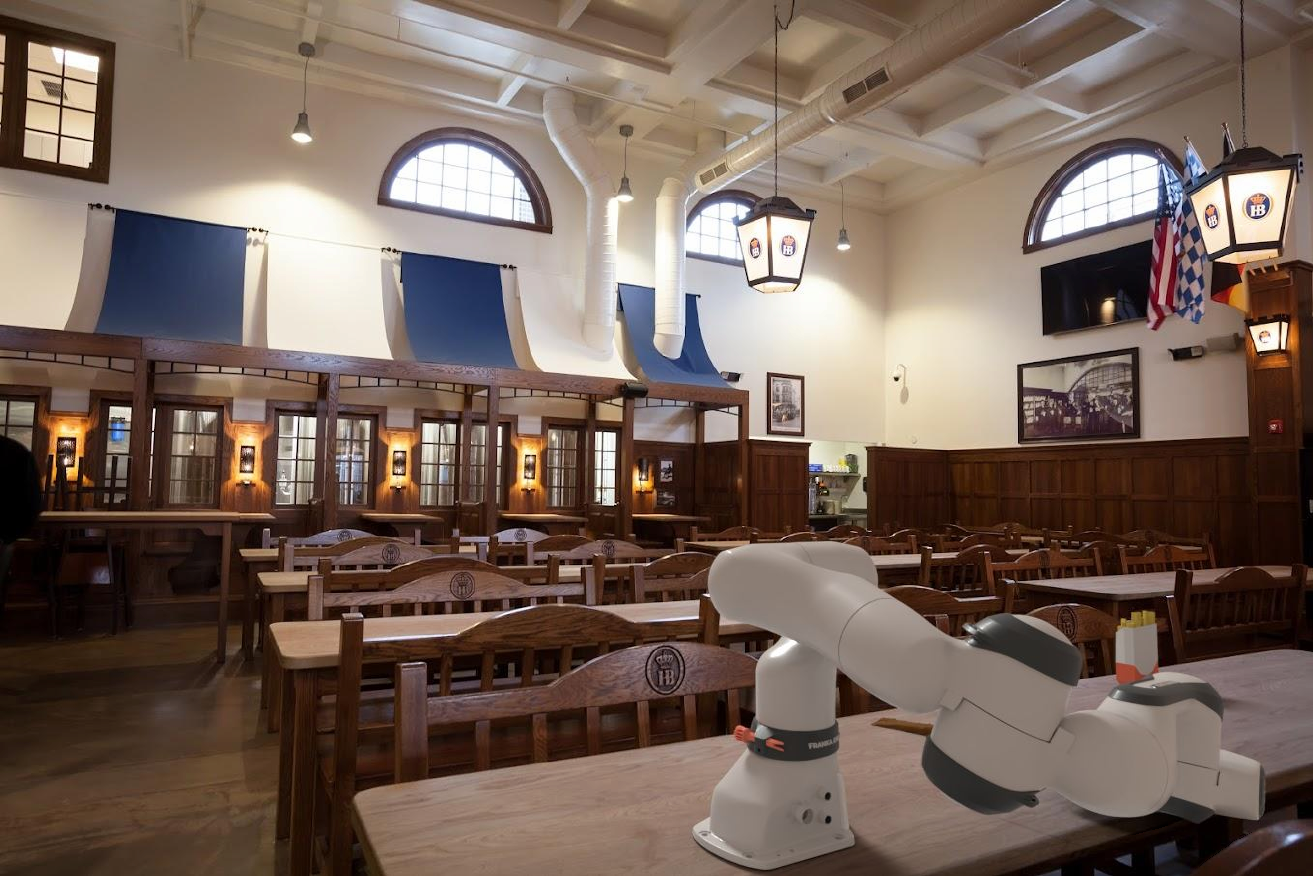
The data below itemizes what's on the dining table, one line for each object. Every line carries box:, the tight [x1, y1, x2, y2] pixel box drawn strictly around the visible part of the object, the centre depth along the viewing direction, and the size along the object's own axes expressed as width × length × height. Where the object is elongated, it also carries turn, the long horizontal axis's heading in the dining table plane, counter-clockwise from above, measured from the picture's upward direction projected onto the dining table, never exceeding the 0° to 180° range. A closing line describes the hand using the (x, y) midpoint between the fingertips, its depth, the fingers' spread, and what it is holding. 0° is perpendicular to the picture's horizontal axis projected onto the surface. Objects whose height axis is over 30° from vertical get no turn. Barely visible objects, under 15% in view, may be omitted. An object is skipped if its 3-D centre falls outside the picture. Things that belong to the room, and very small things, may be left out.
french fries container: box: [1115, 610, 1159, 685], centre depth 184 cm, size 5×11×18 cm, turn 123°
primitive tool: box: [870, 717, 934, 736], centre depth 152 cm, size 19×6×4 cm, turn 48°
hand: (1037, 737), depth 127 cm, fingers closed
